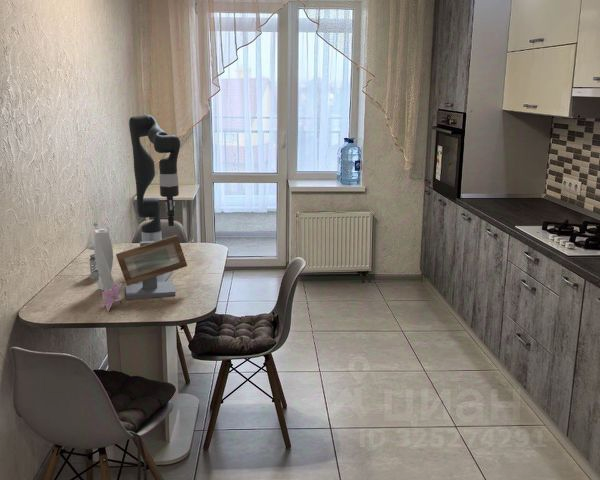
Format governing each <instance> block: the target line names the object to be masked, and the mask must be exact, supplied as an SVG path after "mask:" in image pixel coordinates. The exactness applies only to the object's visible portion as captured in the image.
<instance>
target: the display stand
mask: <svg viewBox="0 0 600 480" xmlns="http://www.w3.org/2000/svg"><path fill="white" fill-rule="evenodd" d="M152 242H155V241H144V242H142V241H139V247H140V246H143V245H146V244H149V243H152ZM169 296H170V297H171V296H176V288H175V284H174V281H173V280H167V281H164V282H157V276H156V277H153V278H150V279H147V280H144V281H142V283H139V284H132V285H129V286H127V284H126V283H125V299H126V300H135V299H136V300H138V299H146V298H147V299H149V298H158V297H159V298H162V297H169Z"/></svg>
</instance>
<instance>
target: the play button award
mask: <svg viewBox="0 0 600 480" xmlns="http://www.w3.org/2000/svg"><path fill="white" fill-rule="evenodd" d="M173 273H174V271H171V272H168V273H165V274H162V275H159V276H157V282H164V281H169V279H170V277H172V275H173ZM139 283H142V281H141V282H138V283H135V284H139Z"/></svg>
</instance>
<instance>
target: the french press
mask: <svg viewBox="0 0 600 480" xmlns="http://www.w3.org/2000/svg"><path fill="white" fill-rule="evenodd" d="M93 226H94V227H95V228H97V226H98V222H94V223H93ZM87 249H88V250H90V251H94V243H93V244H90V245H89V246H88V247H87ZM89 257H90V258H89V259H88V261H89V267H90V268H89V269H90V270H89V272H90V274H88V278H89V279H92V280H93V279H96V280H99V272H98V269H97V265H96V260H95V253H92V254H90V255H89Z"/></svg>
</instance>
